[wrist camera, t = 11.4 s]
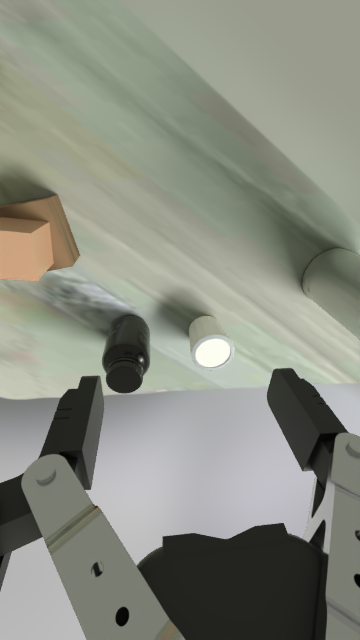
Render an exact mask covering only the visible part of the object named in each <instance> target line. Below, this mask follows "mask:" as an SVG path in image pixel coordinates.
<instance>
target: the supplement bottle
mask: <svg viewBox="0 0 360 640" xmlns="http://www.w3.org/2000/svg"><path fill="white" fill-rule="evenodd" d="M102 365H103V368H104V370H105V372H106V373H107V375H106V382H107V385H108V387H110V389H112V390H113V391H115V392H118V393H130V392H133V391H135V390H137V389H138V388H139V387H140V385H141V384H142V381H143V375H144V374H145V373H146V372H147V370H148V368H149V365H150V331H149V327H148V325H147V324H146V322H145V321H143V320H142V319H141V318H139V317H136V316H132V315H125V316H121V317H119V318H117V319H115V320H114V321H113V322H112V324H111V325H110V328H109V331H108V335H107V340H106V344H105V348H104V353H103V357H102Z"/></svg>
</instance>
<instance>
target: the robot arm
mask: <svg viewBox="0 0 360 640" xmlns="http://www.w3.org/2000/svg"><path fill="white" fill-rule="evenodd" d="M302 287H303V290H304V292H305V294H306V295H307V296H308V297H309V298H310V299H311V300H313V301H314V302H315V303H316V304H317V305H319V306H320V307H321V308H322V309H323V310H324V311H326V312H327V313H328V314H329V315H330V316H332V317H333V318H334V319H335V320H337V321H338V322H339V323H340V324H341V325H343V326H344V327H345V328H346V329H347V330H349V331H350V332H351V333H352V334H354V335H355V336H356V337H357V338H358V339H360V255H358V254H356V253H353V252H351V251H349V250H346V249H342V248H335V249H330V250H327V251H325V252H323V253H321V254H320V255H318V256H317V257H316V258H315V259H314V260H313V261H312V262H311V263H310V264H309V265H308V267H307V269H306V270H305V273H304V275H303V280H302ZM267 400H268V404H269V406H270V408H271V410H272V412H273V414H274V416H275V418H276V420H277V422H278V424H279V426H280V428H281V430H282V432H283V434H284V436H285V438H286V440H287V442H288V444H289V446H290V448H291V450H292V452H293V454H294V455H295V457H296V459H297V461H298V463H299V465H300V467H301V469H302V471H314V473H315V475H316V477H315V480H314V485H313V491H312V498H311V503H310V510H309V516H308V522H307V526H306V529H305V532H304V535H303V538H302V539H301V538H300V537H298V536H295V535H292V534H288V533H287V531H286V528H285V525H284V523H279V524H270V525H261V526H255V527H252V528H250V529H248V530H246V531H244V532H242V533H240V534H238V535H236V536H234V537H232V538H229V539H220V538H215V537H210V536H205V535H200V534H195V533H190V534H182V535H173V536H164V537H163V546H162V547H160V548H158V549H156V550H154V551H153V552H151V553H150V554H148V555H147V556H146V557H145V558H144V559H142V560H141V561H140V562H139V564H138V565H137V566H136V565H135V563H134V562H133V560H132V558H131V557H130V555H129V554H128V552H127V551H126V549H125V547H124V546H123V544H122V542H121V541H120V539H119V538H118V536H117V534H116V533H115V531H114V530H113V528H112V526H111V525H110V523H109V522H108V520H107V518H106V517H105V515H104V514H103V512H102V511H101V509H100V508H99V507H98V506H95V505H94V504H93V503H92V501H91V499H90V498H89V496H88V495H87V493H86V491H85V490H90V489H91V485H92V479H93V473H94V467H95V462H96V456H97V450H98V444H99V437H100V431H101V425H102V419H103V412H104V400H103V392H102V385H101V378H100V376H82V377H81V380H80V383H79V387H78V389H69V390H68V391H67V392H66V393H65V394H64V395H63V396H62V397H61V399H60V401H59V404H58V407H57V411H56V412H55V415H54V418H53V421H52V423H51V426H50V429H49V432H48V435H47V437H46V440H45V443H44V446H43V448H42V451H41V454H40V456H39V458H38V459H37V460H36V461H34V462H33V463H32V464H31V465H30V466H29V467H28V468H27V470H26V471H25V473H23V474H21V475H20V476H18V477H15V478H13V479H10V480H8V481H5V482H2V483H0V590H1V586H2V583H3V580H4V576H5V573H6V570H7V566H8V563H9V559H10V556H11V553H12V551H14V550H16V549H18V548H20V547H22V546H24V545H26V544H29V543H31V542H33V541H35V540H37V539H39V538H41V537H43V538H44V541H45V543H46V545H47V548H48V550H49V553H50V555H51V558H52V560H53V562H54V564H55V567H56V569H57V571H58V574H59V576H60V578H61V581H62V583H63V585H64V587H65V590H66V592H67V595H68V597H69V599H70V601H71V604H72V606H73V609H74V611H75V613H76V616H77V618H78V620H79V623H80V625H81V627H82V630H83V632H84V634H85V637H86V639H87V640H360V437H359V436H357V435H354V434H351V433H348V431H347V430H346V429H345V428H344V426H343V425H342V424H341V422H340V421H339V419H338V418H337V417H336V416H335V414H334V413H333V411H332V410H331V409H330V407H329V406H328V405H326V402H325V401H324V400H323V398H322V397H320V394H319V393H318V392H317V390H316V389H315V388H314V386H312V385H311V384H310V383H309V382H307V381H306V380H305V379H300V378H299V377H298V375H297V374H296V373H295V371H294V370H293V369H292V368H282V369H274V371H273V374H272V377H271V381H270V384H269V388H268V392H267Z"/></svg>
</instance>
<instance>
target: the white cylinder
mask: <svg viewBox="0 0 360 640" xmlns="http://www.w3.org/2000/svg"><path fill="white" fill-rule="evenodd" d="M189 337H190V348H191V357H192V361H193V363H194V364H195V365H196V366H197V367H199V368H201V369H202V370H209V371H211V370H217V369H220V368H222V367H224V366H226V365H227V364H228V363H229V362H230V361H231V360H232V358H233V356H234V354H235V346H234V344H233V343H232V341H231V339H230V338H229V336H228V335H227V333H226V332H225V331H224V329H223V328H222V326H221V325H220V323H219V322H218V320H217V319H215V318H214V317H212V316H201V317H199V318H197V319H195V320H194V321H193V322H192V323H191V324H190V328H189Z"/></svg>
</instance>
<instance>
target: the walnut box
mask: <svg viewBox="0 0 360 640" xmlns="http://www.w3.org/2000/svg"><path fill="white" fill-rule="evenodd" d="M2 217H7V218H16V219H26V220H36V221H45V222H49V224H50V233H51V242H52V252H53V261H54V264H53V265H52V266H51V267H50V268H49V269H48V270H47V271H51V270H56V269H61V268H66V267H71V266H73V265H74V263H75V262H76V260H77V259H78V258H79V256H80V254H79V251H78V248H77V245H76V243H75V240H74V237H73V235H72V232H71V229H70V226H69V224H68V221H67V218H66V215H65V213H64V210H63V207H62V204H61V202H60V199H59V196H58V195H54V196H49V197H44V198H39V199H33V200H28V201H23V202H18V203H13V204H8V205H2V206H0V218H2Z"/></svg>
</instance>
